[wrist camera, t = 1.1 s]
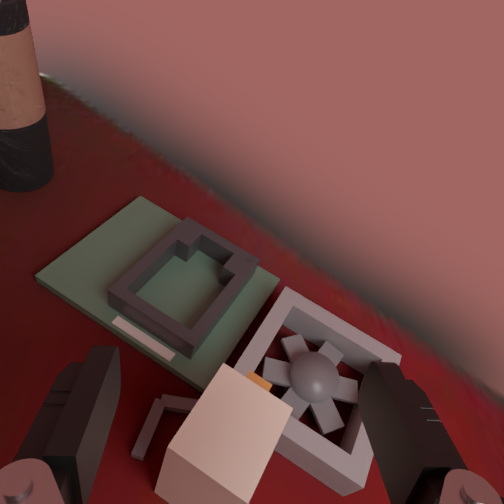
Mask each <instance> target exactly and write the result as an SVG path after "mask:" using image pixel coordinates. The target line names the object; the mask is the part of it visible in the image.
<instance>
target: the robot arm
mask: <svg viewBox="0 0 504 504" xmlns="http://www.w3.org/2000/svg"><path fill="white" fill-rule="evenodd" d="M120 390H121V372H120V353H119V347H114V346H96V345H93V346H92V347H91V349H90V351H89V353H88V355H87V357H86V360H85V362H84V363H79V362H71V363H70V364H69V365H68V366H67V367H66V368H65V369H64V370H63V371H61V372H60V373H59V374H58V375H57V377H56V379H55V381H54V383H53V385H52V387H51V389H50V392H49V393H48V395H47V397H46V399H45V401H44V402H43V406H41V408H40V410H39V412H38V414H37V416H36V418H35V420H34V422H33V424H32V426H31V428H30V430H29V432H28V434H27V436H26V438H25V440H24V442H23V444H22V445H21V447H20V449H19V451H18V453H17V455H16V457H15V458H14V460H13V461H12V462H11V463H10V464H9V465H7V466H5V467H3V468H2V469H1V470H0V504H87V503H88V500H89V497H90V494H91V490H92V487H93V484H94V481H95V477H96V474H97V471H98V467H99V464H100V461H101V458H102V454H103V451H104V448H105V444H106V441H107V438H108V435H109V431H110V428H111V425H112V422H113V418H114V415H115V412H116V408H117V405H118V402H119V397H120ZM358 408H359V413H360V416H361V419H362V422H363V425H364V428H365V430H366V433H367V436H368V439H369V442H370V445H371V448H372V450H373V453H374V456H375V459H376V462H377V465H378V467H379V470H380V473H381V476H382V479H383V482H384V485H385V487H386V490H387V493H388V496H389V499H390V502H391V504H504V498H502V497H500V496H499V495H498V494H497V492H496V491H495V489H494V488H493V487H492V486H491V485H490V484H489V483H488V482H487V481H486V480H484V479H483V478H482V477H480V476H479V475H477V474H475V473H473V472H471V471H469V470H468V469H467V467H466V465H465V463H464V462H463V460H462V458H461V456H460V454H459V453H458V451H457V449H456V447H455V445H454V444H453V442H452V440H451V438H450V437H449V435H448V433H447V431H446V429H445V428H444V426H443V424H442V423H440V419H439V417H438V415H437V413H436V411H435V410H433V406H432V404H431V402H430V401H429V399H428V397H427V395H426V394H425V392H424V391H423V390H422V389H421V388H420V387H419V386H418V385H417V384H416V383H415V382H414V381H413V380H406V379H405V377H404V375H403V373H402V372H401V370H400V368H399V366H398V365H397V364H396V363H394V362H377V361H372V362H371V363H370V364H369V367H368V369H367V372H366V375H365V378H364V381H363V384H362V386H361V389H360V392H359V396H358Z"/></svg>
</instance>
